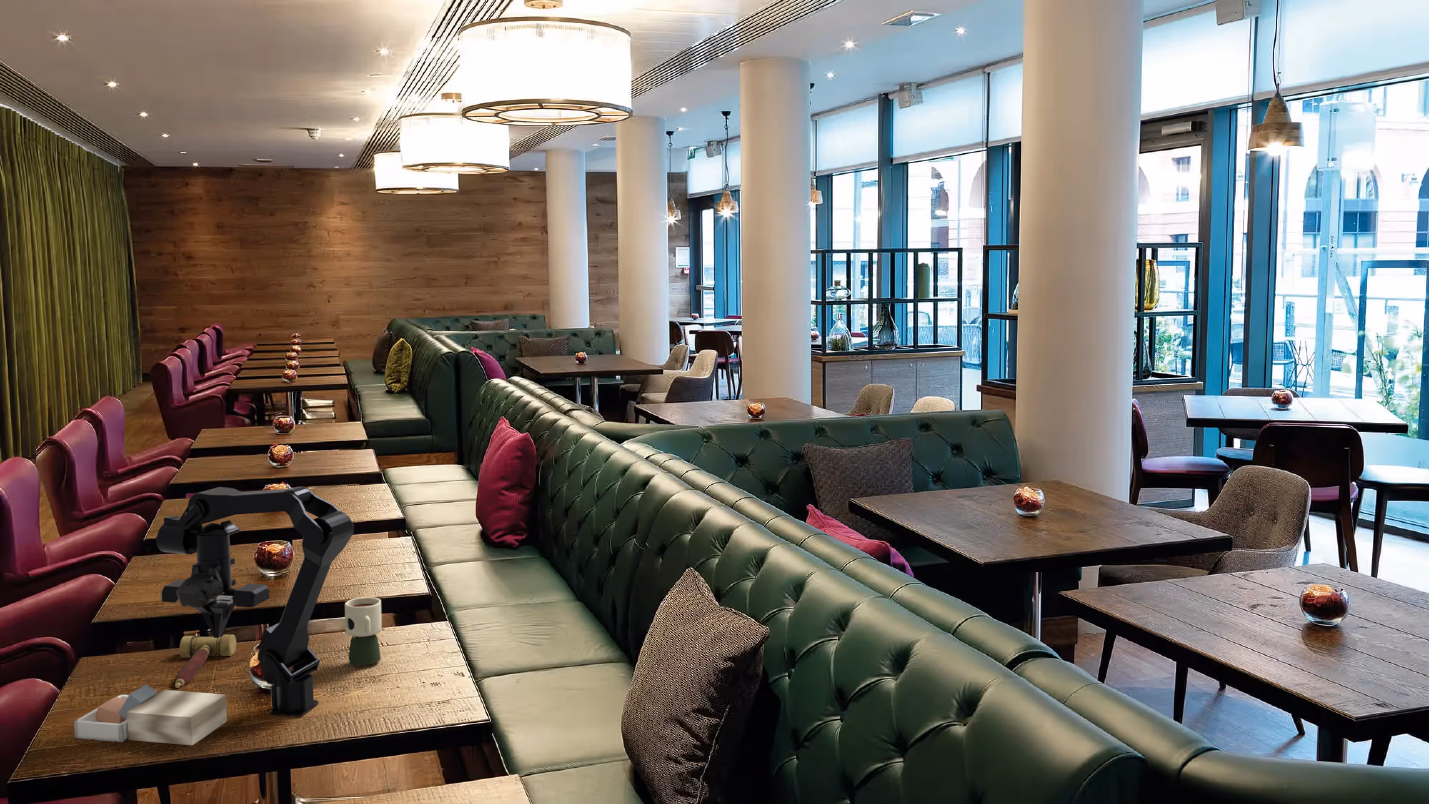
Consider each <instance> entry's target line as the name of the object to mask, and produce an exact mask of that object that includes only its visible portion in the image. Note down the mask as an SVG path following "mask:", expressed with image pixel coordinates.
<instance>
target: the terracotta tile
mask: <svg viewBox="0 0 1429 804" xmlns="http://www.w3.org/2000/svg"><path fill="white" fill-rule="evenodd" d="M125 701H126V700H124V699H121V698H118V696H114V697H113V698H110V699H109V700H107V701H106V702H104V703H102V704H100V705H98V706H97V708H98V710H97V716H96V720H99V721H102V722H105V723H117V724H121V723H122V722H124V721H126V719H125V718H124V717H122V716H121V715H120V714H118V713H119V711H120V710H121V708H122V706H123V704H124V703H125Z"/></svg>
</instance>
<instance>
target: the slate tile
mask: <svg viewBox="0 0 1429 804" xmlns="http://www.w3.org/2000/svg"><path fill="white" fill-rule="evenodd" d="M157 694H158V691H157V690H155V689H154V688H153V687H151V686H150V685H149V684H144V685H143V686H141V687H139V688H138V689H136V690H134V691H133V692H131V693H129V694H128V695H129V696H128V698H127V699H126V701H125V703H124V704H123V706H122V708H121V710H120V711H119V713H118V714H120V715H121V716H122V717H124V718H125V719H126V720H127V712H128V711H130V710H132V709H133V708H135V707H137V706H138V705H140V704H142V703H143V702H145V701H147V700H148V699H150V698H152V697H153V696H155V695H157Z"/></svg>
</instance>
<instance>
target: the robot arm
mask: <svg viewBox="0 0 1429 804" xmlns="http://www.w3.org/2000/svg"><path fill="white" fill-rule="evenodd" d="M278 512H279V513H281V512H282V513H283V512H284V513H286V514H287V515H288V516H289V519H290V521H291V523H292V525H293V528H294V529H295V531H296V532H298V533H299V534H300V536H302V541H301V547H302V552H303V560H302V562H301V565H300V569H299V571H298V574H297V577H296V579H295V581H294V584H293V587H292V589H291V591H290V595H289V597H288V600H287V603H286V605H285V608H284V610H283V612H282V616H281V618H280V620H279V622H278V623H275V624H274V625H273V624H272V625H271V626H269V627H266V628H265V629H263V631H262V634H261V639H260V642H259V644H258V645H257V646H256V650H258V652H257V661H259V664H260V667H261V671H262V673H263V676H264V678H265V681H266V684H267V685H270V700H271V707H272V708H271V709H270V710H269V711H268V714H269V715H275V716H287V717H289V716H290V717H303V716H304V715H305V714H307V713H308V712H310V710H312V709H313V708H314V707H316V706H317V705H318V704H319V700H317V699H316V700H315V699H314V698H315V697H314V677H313V674H312V673H314V672H316V671H318V669H319V666H320V662H321V660H320V659H319V658H318V656H317V655H316V654H315V653H314V652H313V651H312V650H311V648H310V647H309V642H310V636H309V632H308V625H309V622H310V619H311V617H312V614H313V613H314V609H315V607H316V605H317V601H318V599H319V596H320V594H321V591H322V589H323V587H324V586H323V585H324V583H325V581H326V578H327V577H328V576H327V575H328V574H329V570H330V568H331V565H332V563H333V561H334V560H335V559H336V558H337V557H338V556H339V554H340V553H342V551H343V550H344V549H345V548H346V546H347V544H348V543H349V541H350V540H351V538H352V536H353V534H354V531H355V524H353V521H352V520H351V518H350V517H349V515H348V514H347V513H345V512H343V511H341V510H340V509H339V508H338V507H337V506H336V505H335V504H333V503H332V502H329V501H327V500H326V499H324V498H322V497H319V496H318V495H316V494H315V493H314V492H313V491H311V489H309V488H308V487H305V486H296V487H293V488H278V489H269V490H268V489H265V490H253V491H242V490H238V489H235V488H233V487H224V486H218V487H215V488H212V489H208V490H204V491H200V492H196V493H193V494H191V495H190V497H189V500H188V503H187V507H186V508H185V510H184V512H183V513H182V514H181V516H178V515H170V516H166V517H164V518H163V524H162V525H161V526H160V527H159V529H158V531H157V535H156V537H155V542H156V546H157V548H158V550H160V551H161V552H164V553H171V554H179V555H180V554H181V555H193V554H195V555H196V563H194V564H192V568H191V573H190V574H191V575H190V577H188V578H186V579H179V578H178V579H177V580H174V581H172V582H170V583H167V584H166V585H164V586H163V587H162V588H161V591H160V599H161V602H162V603H176V602H178V601H179V604H180V606H181V607H190V608H194V609H195V610H198V611H199V612H200V613H201V614H202V616H203V618H204V619H205V622H206V624H207V626H208V629H209V630H210V633H211V634H212V637H214V638H219V637H222V636H223V632H224V631H225V627H226V625H227V624H228V621H229V618H230V615H231V614H232V612H233V610H234V608H235V607H237V608H254V607H257V606H258V605H260V604H262V603H264V602H266V601H268V600H270V589H269V587H268V586H267V585H266V584H263V583H246V584H245V585H243V586H241V587H239V588H233V587H234V586H236V585H237V580H236V579H233V578H232V566H233V565H234V564H236V560H235V557H231V545H230V544H231V543H230V542H231V541H230V535H233V534H236V533H239V532H240V528H239V527H238V526H237V525H235V524H234V523H233V522H232V521H231V520H230V519H228V520H224V521H222V522H220V523H216V522H215V521H219V520H221V519H225V518H228V517H231V516H232V517H233V516H236V515H237V516H239V515H250V514H251V515H252V514H266V513H278ZM308 513H309V514H310V515H313V516H315V517H316V518H312V517H311V516H310V515H309V514H308ZM214 522H215V523H214ZM203 524H204V526H203ZM205 524H206V525H205Z"/></svg>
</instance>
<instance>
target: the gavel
mask: <svg viewBox="0 0 1429 804" xmlns="http://www.w3.org/2000/svg"><path fill="white" fill-rule="evenodd" d="M192 647H193V648H192ZM236 649H237V638H236V636H235V635H234V634H222V635H221V637H219V638H214V637H213V636H197V637H196V636H195V635H184V636H183V637H182V638H181V640H180V643H179V655H180V658H182V659H189V660H188V661H187V663H185V665H184V667H182V669H181V670H180V671H179V673H178V674H177V675H176V677H175V683H174V684H175V685H174V687H175V688H177V689H179V688H181V687H180V686H182V687H183V686H185V685H187V684H189V683H190V681H191V680H192V679H193V678H194V676H195V675H196V673H197V672H198V671H199V669H200V668H201V667H202V666H203V664H204V663H205V662H206V660H207V659H208V657H218V656H221V657H222V656H231V655H232V654H233V653H234V652H235V653H236ZM235 653H234V654H235ZM217 655H218V656H217ZM191 657H192V658H191ZM231 657H232V656H231Z"/></svg>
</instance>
